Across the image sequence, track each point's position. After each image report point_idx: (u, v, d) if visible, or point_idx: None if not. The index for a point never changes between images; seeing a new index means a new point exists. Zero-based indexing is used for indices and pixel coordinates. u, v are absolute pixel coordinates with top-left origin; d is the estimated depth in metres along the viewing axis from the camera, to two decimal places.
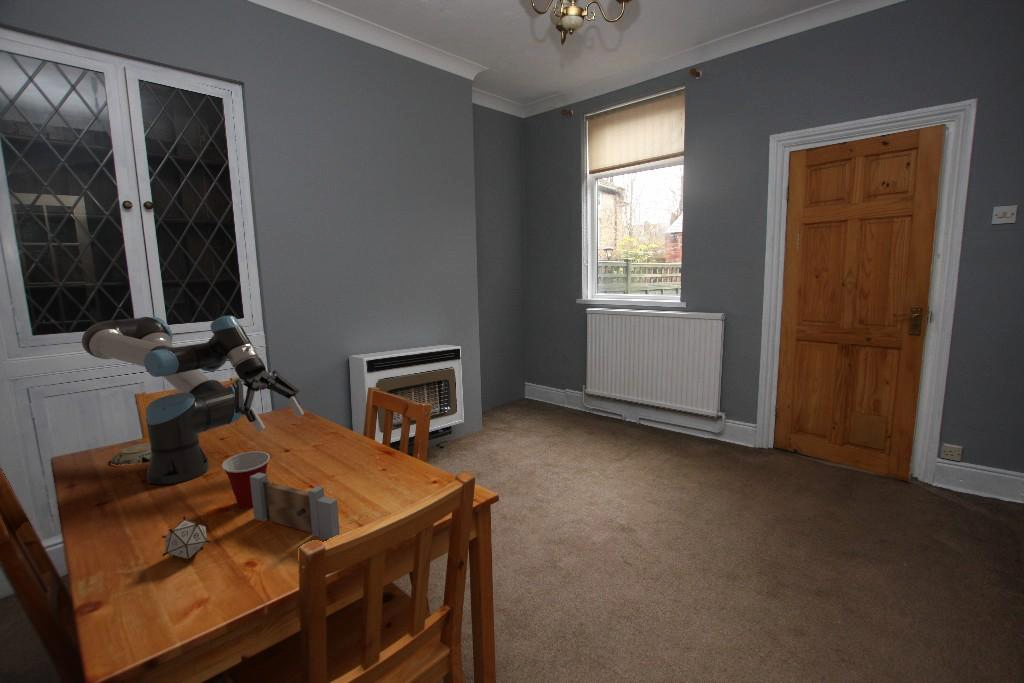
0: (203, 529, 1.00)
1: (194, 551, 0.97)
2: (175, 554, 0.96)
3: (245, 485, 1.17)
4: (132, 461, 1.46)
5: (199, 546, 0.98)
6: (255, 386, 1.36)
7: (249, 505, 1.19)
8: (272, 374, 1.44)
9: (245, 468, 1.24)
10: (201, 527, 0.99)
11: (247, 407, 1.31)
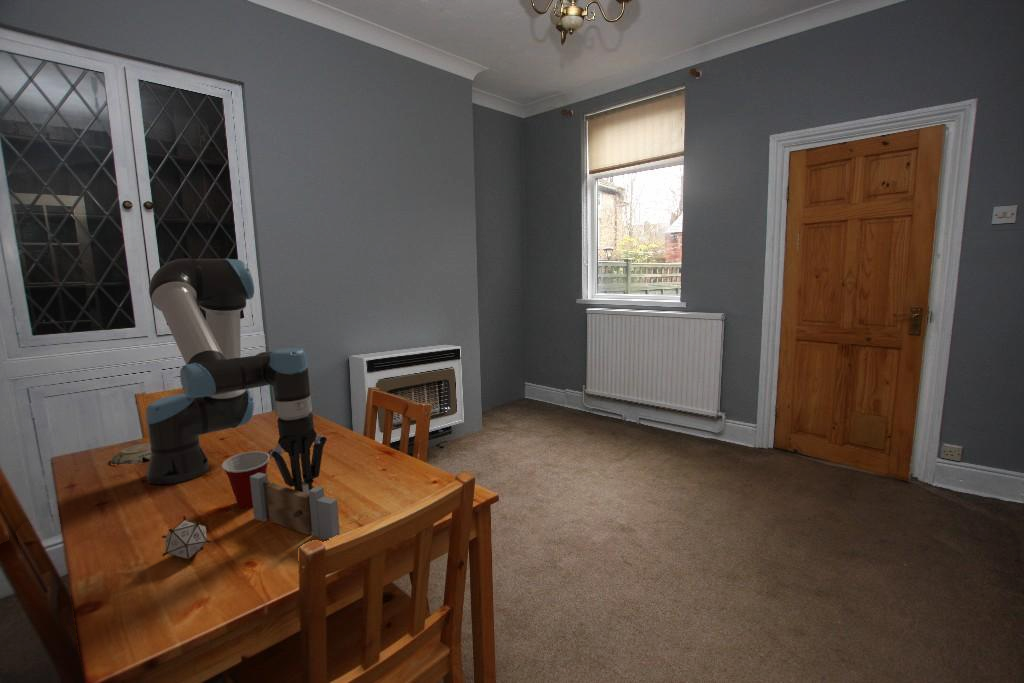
0: (203, 529, 1.00)
1: (194, 551, 0.97)
2: (175, 554, 0.96)
3: (245, 485, 1.17)
4: (133, 461, 1.46)
5: (199, 546, 0.98)
6: (298, 455, 1.08)
7: (249, 505, 1.19)
8: (318, 438, 1.13)
9: (245, 468, 1.24)
10: (201, 527, 0.99)
11: (298, 484, 1.09)
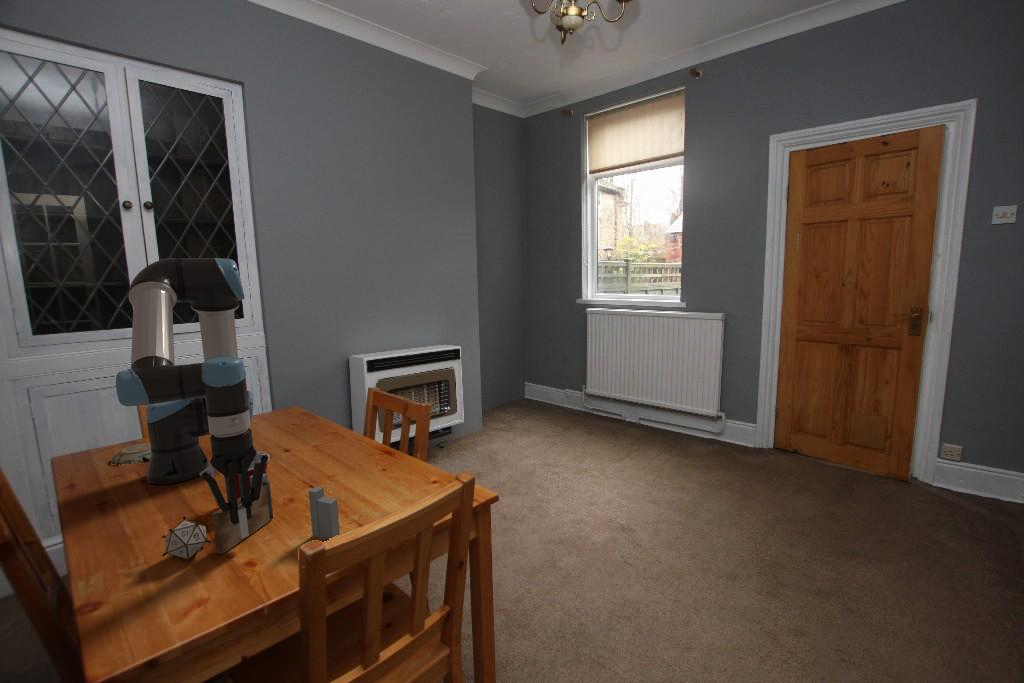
0: (203, 529, 1.00)
1: (194, 551, 0.97)
2: (175, 554, 0.96)
3: None
4: (133, 461, 1.46)
5: (199, 546, 0.98)
6: (233, 476, 0.97)
7: None
8: (259, 457, 1.02)
9: None
10: (201, 527, 0.99)
11: (233, 509, 0.98)
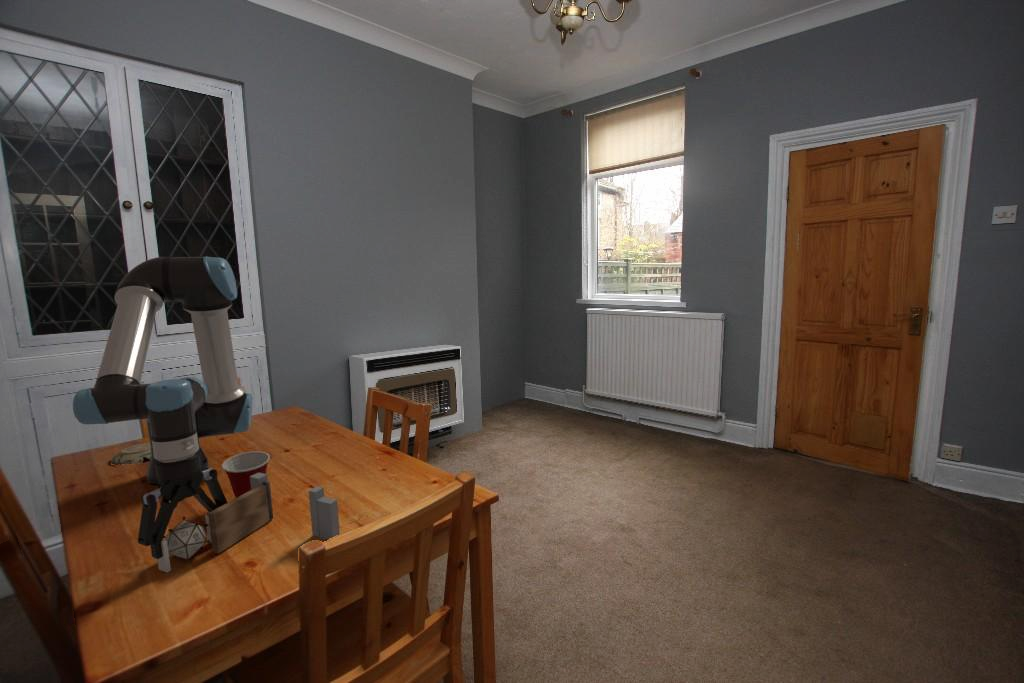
0: (203, 529, 1.00)
1: (194, 551, 0.97)
2: (175, 554, 0.95)
3: (245, 485, 1.17)
4: (134, 461, 1.46)
5: (199, 546, 0.98)
6: (176, 503, 0.94)
7: None
8: (207, 474, 1.01)
9: (245, 468, 1.24)
10: (201, 527, 0.99)
11: (157, 541, 0.92)
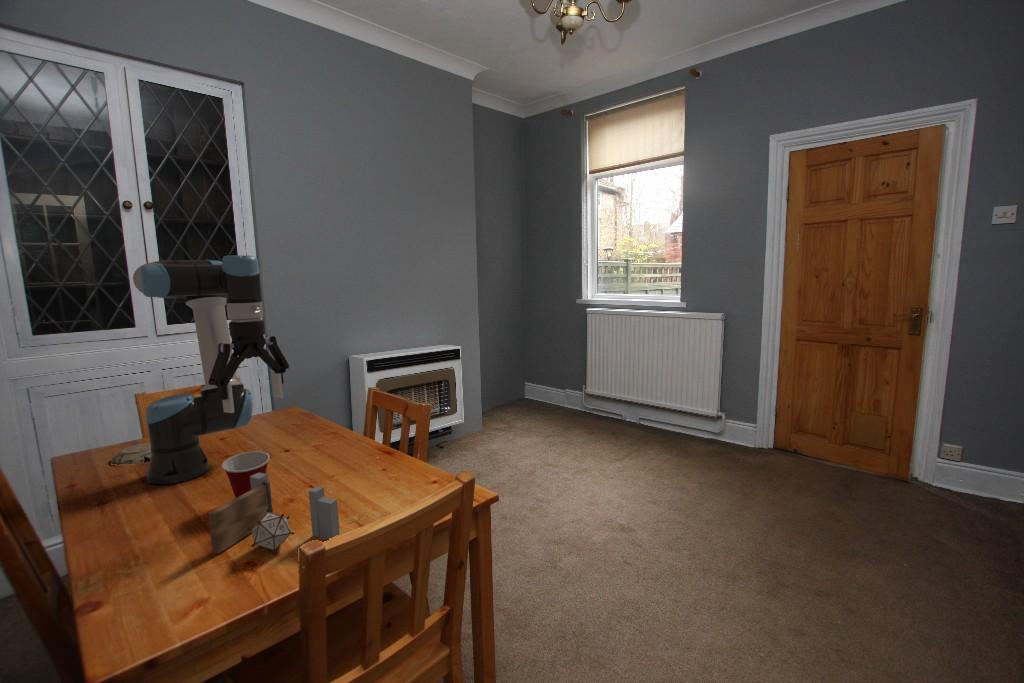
0: (286, 521, 1.03)
1: (279, 542, 1.00)
2: (262, 545, 0.98)
3: (245, 485, 1.17)
4: (135, 461, 1.46)
5: (284, 537, 1.01)
6: (243, 357, 1.11)
7: None
8: (268, 340, 1.19)
9: (245, 468, 1.24)
10: (284, 519, 1.02)
11: (224, 384, 1.08)
